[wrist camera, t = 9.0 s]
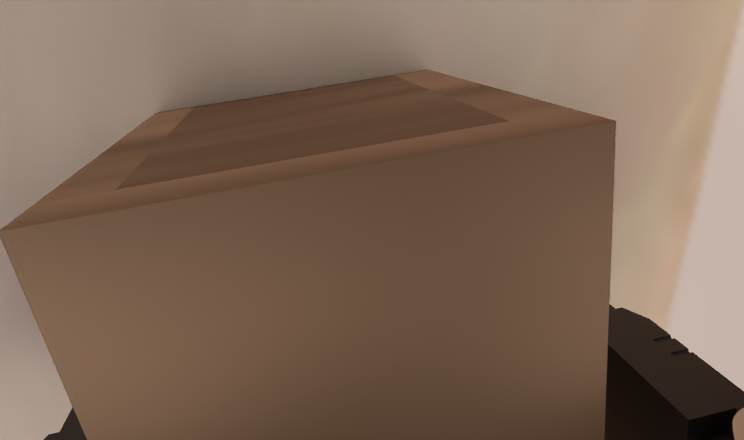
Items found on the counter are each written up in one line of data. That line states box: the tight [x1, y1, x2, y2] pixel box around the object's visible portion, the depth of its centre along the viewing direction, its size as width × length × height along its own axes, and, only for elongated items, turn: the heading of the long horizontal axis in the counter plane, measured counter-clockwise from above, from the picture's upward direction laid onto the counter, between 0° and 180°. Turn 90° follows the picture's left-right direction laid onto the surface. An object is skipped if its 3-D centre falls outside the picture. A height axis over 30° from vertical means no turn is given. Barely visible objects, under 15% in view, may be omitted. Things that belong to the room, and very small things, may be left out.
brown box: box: [0, 70, 616, 440], centre depth 10 cm, size 10×6×7 cm, turn 8°
